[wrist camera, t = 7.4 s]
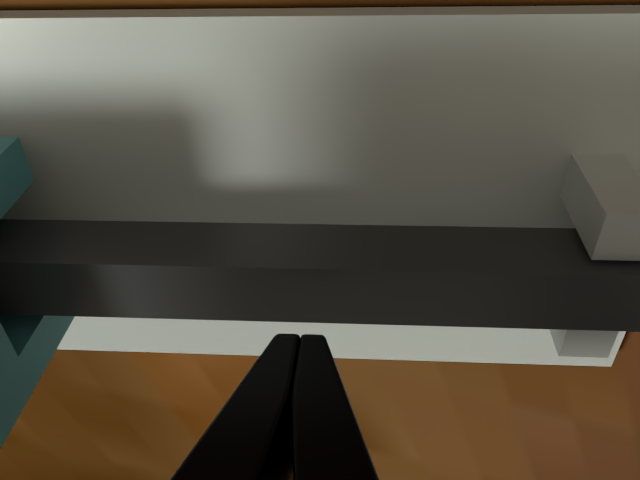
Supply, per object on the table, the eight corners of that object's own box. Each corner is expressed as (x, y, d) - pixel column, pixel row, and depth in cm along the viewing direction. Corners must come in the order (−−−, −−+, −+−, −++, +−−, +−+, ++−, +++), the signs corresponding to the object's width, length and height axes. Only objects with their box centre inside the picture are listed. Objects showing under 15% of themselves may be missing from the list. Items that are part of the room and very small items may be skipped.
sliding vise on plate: (747, 3, 10) (982, 129, 6) (604, 351, 15) (682, 531, 12) (-452, 14, 11) (-858, 120, 8) (-196, 328, 17) (-357, 480, 13)
